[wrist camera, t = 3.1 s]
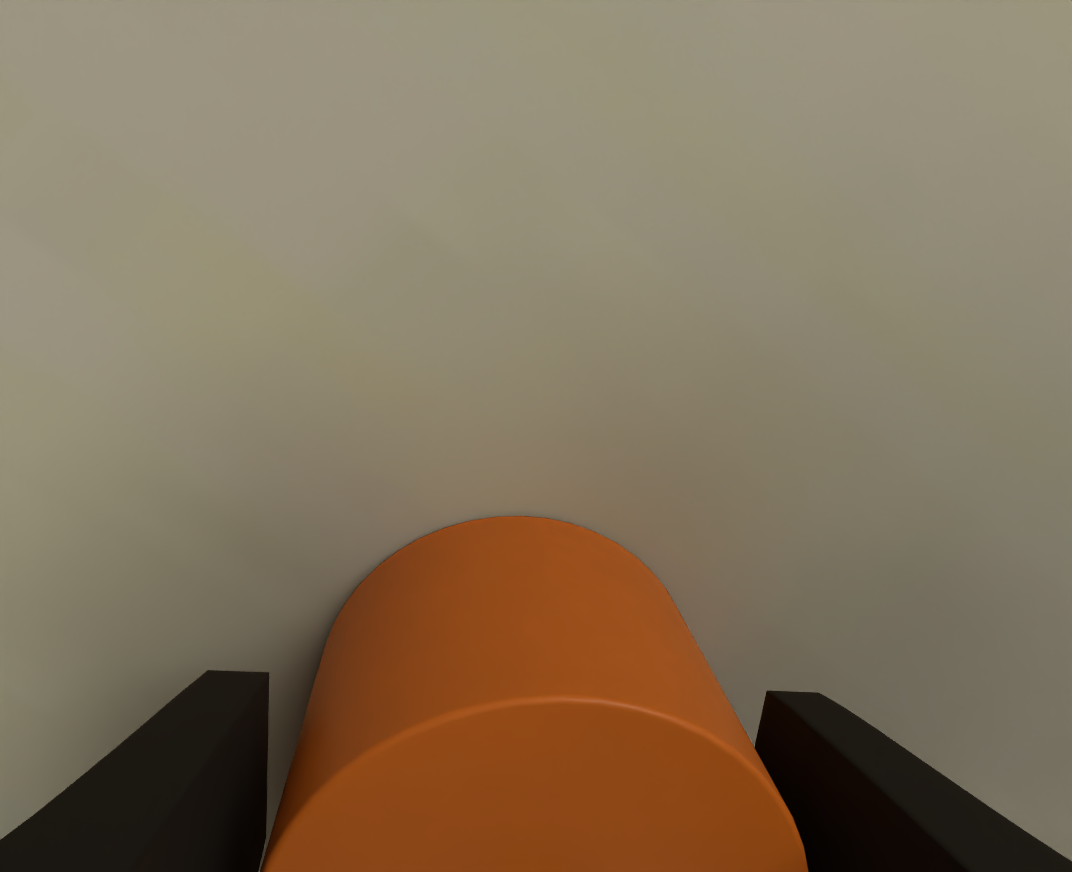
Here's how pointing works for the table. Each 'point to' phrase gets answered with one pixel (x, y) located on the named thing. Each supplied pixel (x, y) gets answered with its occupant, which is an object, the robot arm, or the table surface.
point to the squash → (522, 722)
